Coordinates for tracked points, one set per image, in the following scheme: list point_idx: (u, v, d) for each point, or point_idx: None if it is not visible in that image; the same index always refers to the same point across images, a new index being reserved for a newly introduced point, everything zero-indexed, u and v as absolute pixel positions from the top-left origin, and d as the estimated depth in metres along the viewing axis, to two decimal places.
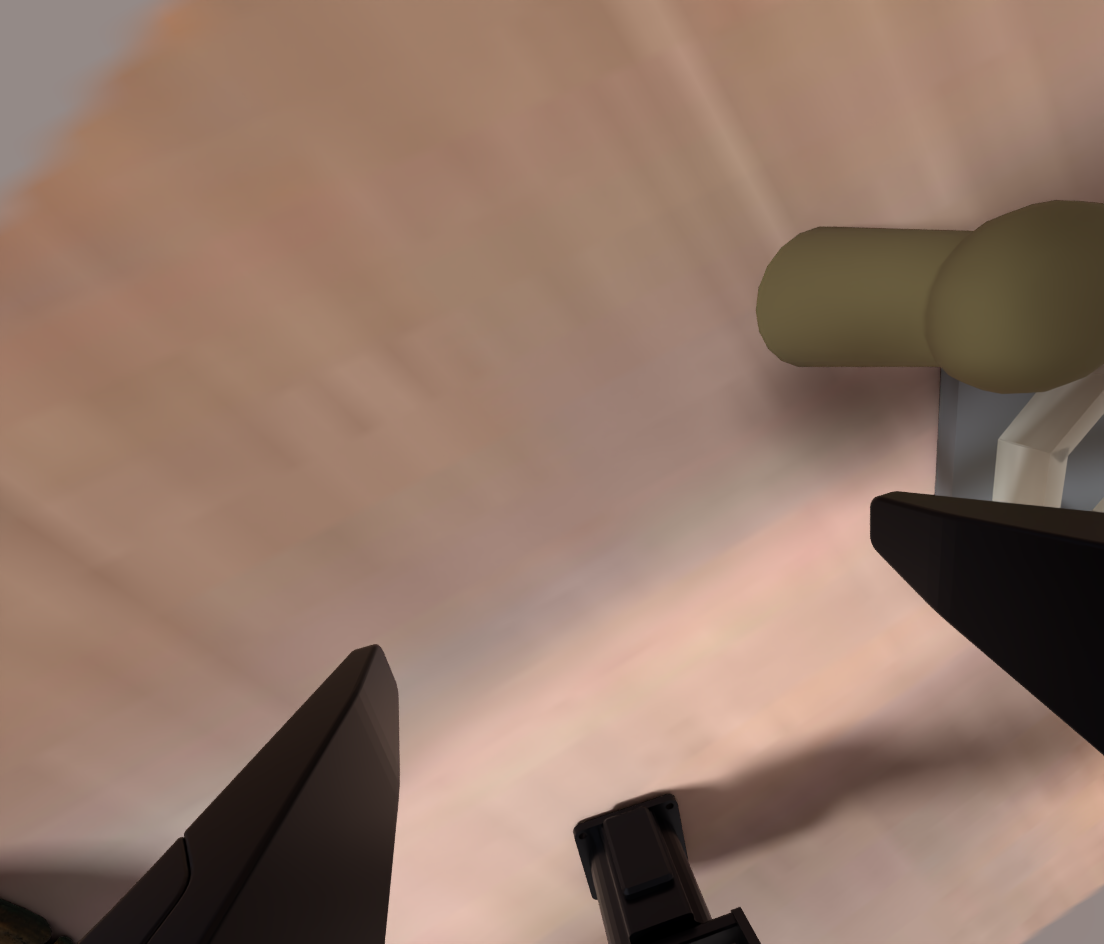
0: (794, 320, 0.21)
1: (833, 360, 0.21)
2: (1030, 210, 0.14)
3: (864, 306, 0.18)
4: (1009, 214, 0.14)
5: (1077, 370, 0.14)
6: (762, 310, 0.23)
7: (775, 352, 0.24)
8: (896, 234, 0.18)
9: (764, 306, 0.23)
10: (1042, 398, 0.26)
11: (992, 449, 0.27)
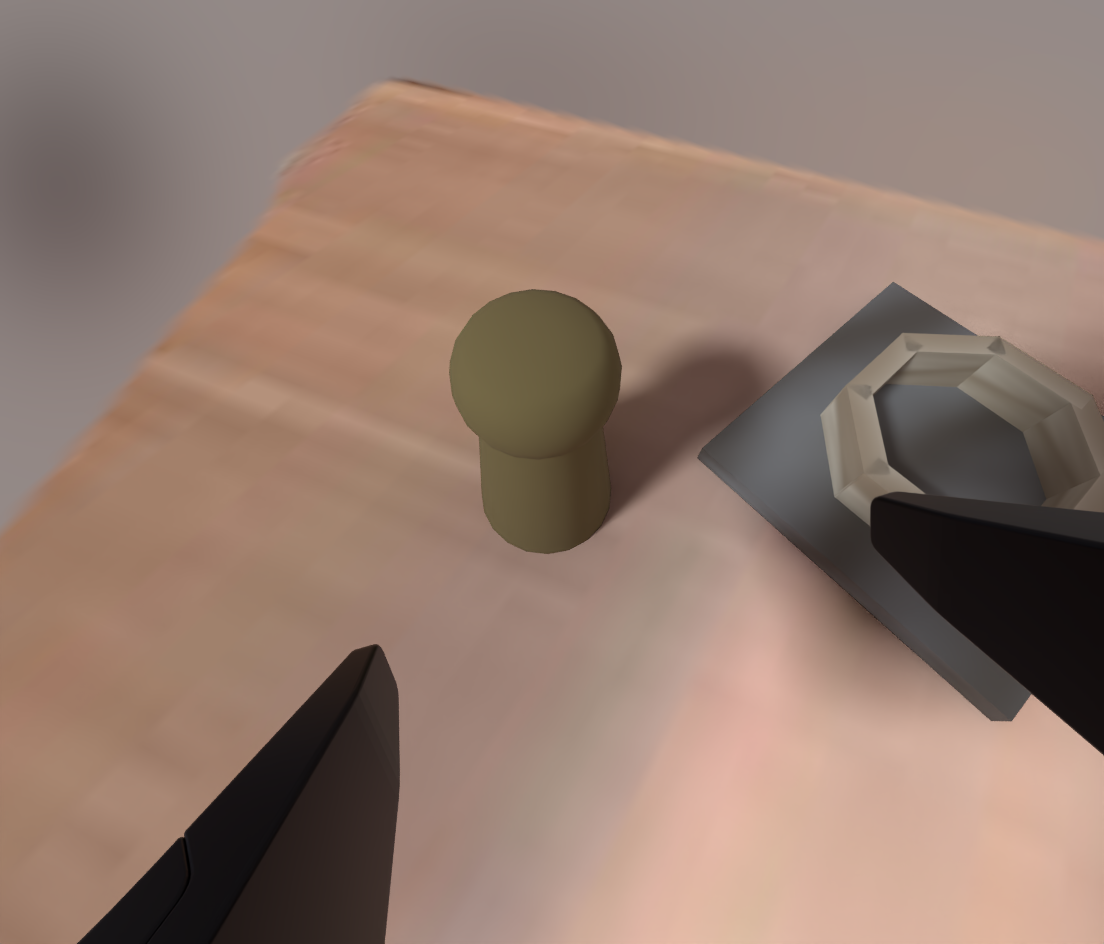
0: (497, 512, 0.21)
1: (546, 521, 0.20)
2: None
3: (487, 462, 0.19)
4: None
5: (572, 382, 0.14)
6: (493, 524, 0.23)
7: (532, 550, 0.23)
8: None
9: (491, 520, 0.23)
10: (830, 440, 0.23)
11: (839, 508, 0.23)
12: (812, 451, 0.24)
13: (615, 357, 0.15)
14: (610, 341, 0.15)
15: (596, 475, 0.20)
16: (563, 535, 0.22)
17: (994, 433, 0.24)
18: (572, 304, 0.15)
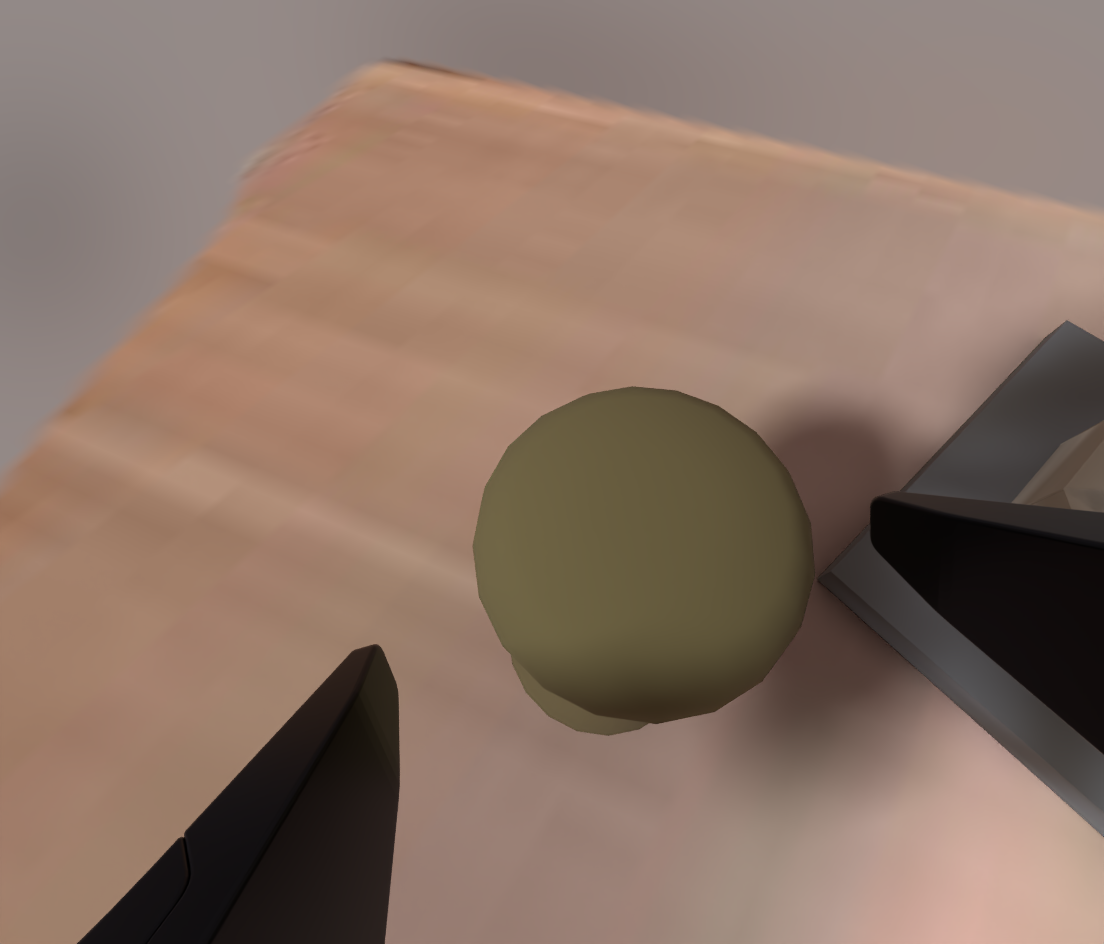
0: (538, 691, 0.14)
1: (618, 719, 0.13)
2: None
3: None
4: None
5: (746, 614, 0.06)
6: (526, 690, 0.16)
7: (586, 731, 0.15)
8: None
9: (523, 683, 0.16)
10: None
11: None
12: None
13: (809, 532, 0.07)
14: (800, 501, 0.07)
15: None
16: (637, 723, 0.14)
17: None
18: (718, 424, 0.08)
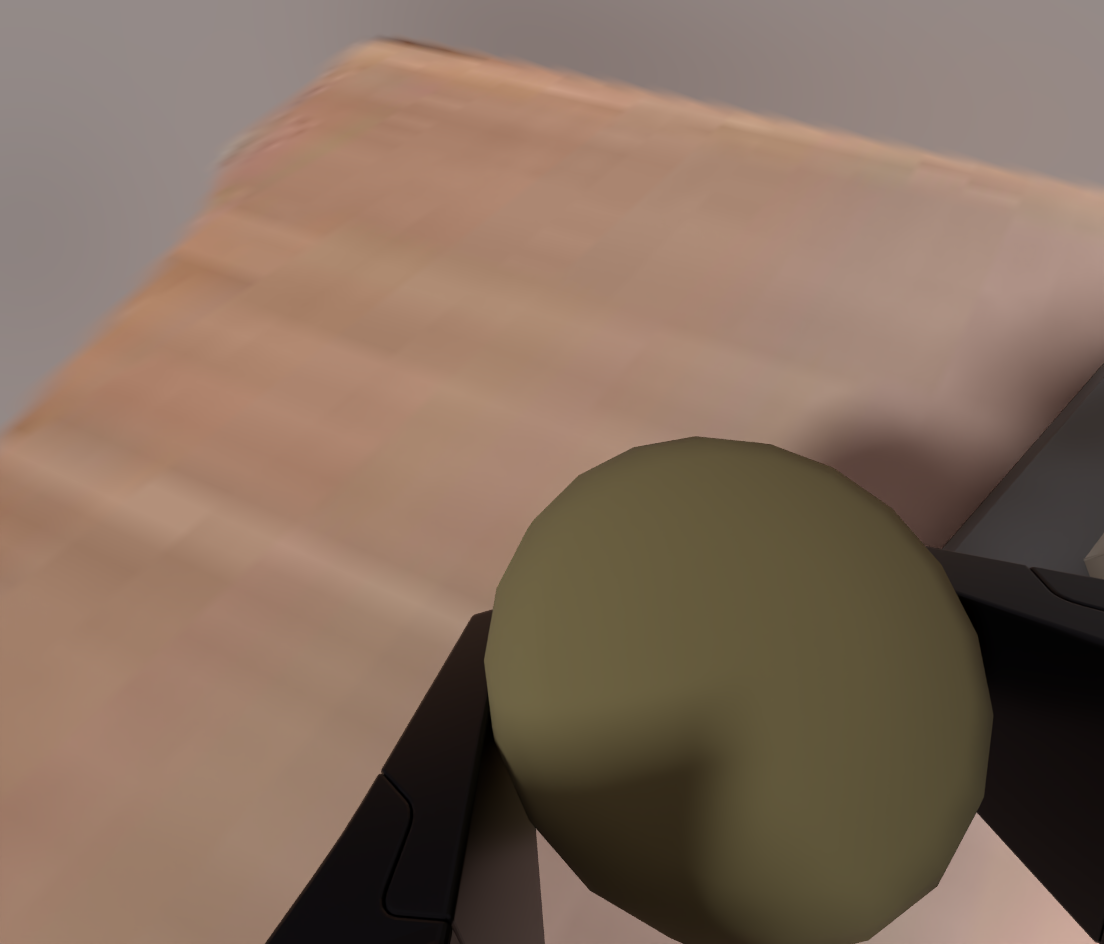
0: None
1: None
2: (527, 529, 0.06)
3: None
4: None
5: (918, 819, 0.04)
6: None
7: None
8: None
9: None
10: None
11: None
12: None
13: None
14: (966, 615, 0.05)
15: None
16: None
17: None
18: (843, 498, 0.05)
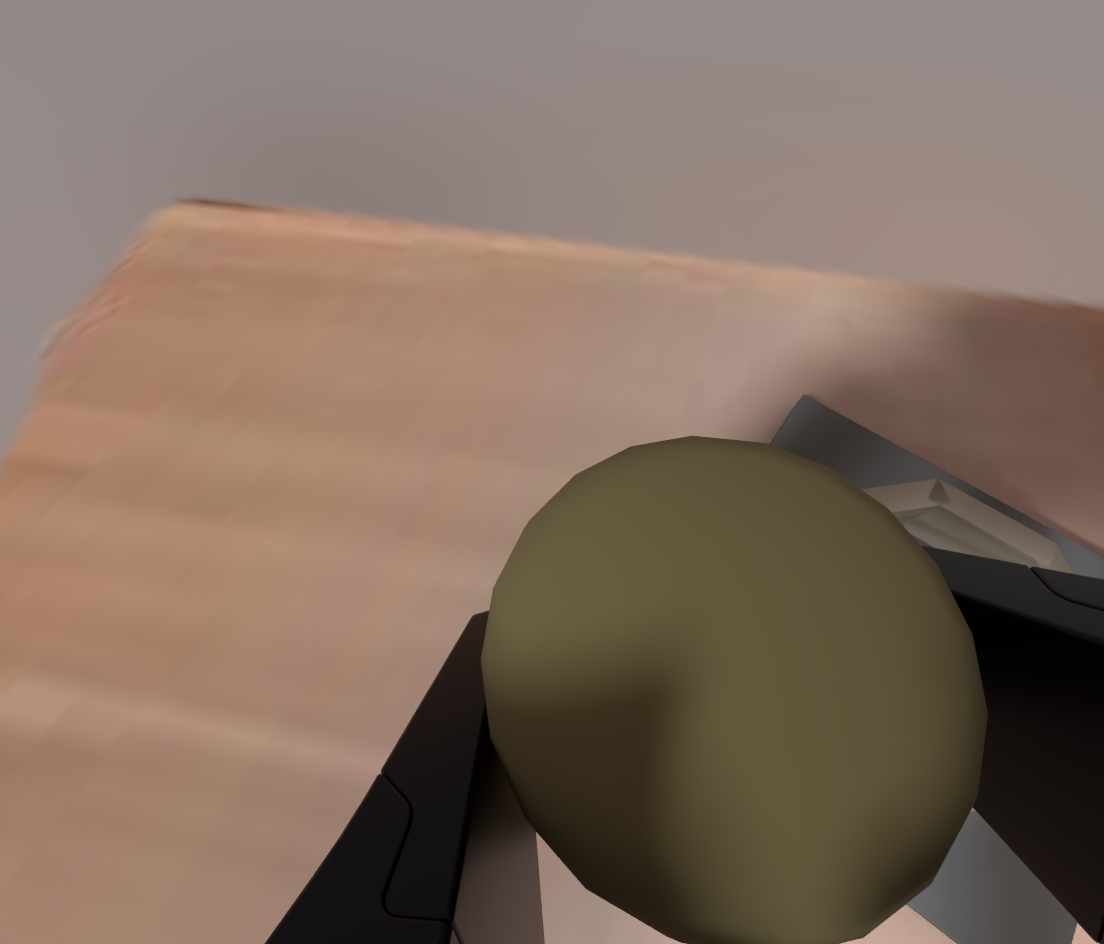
0: None
1: None
2: (524, 528, 0.06)
3: None
4: None
5: (914, 817, 0.04)
6: None
7: None
8: None
9: None
10: None
11: None
12: None
13: None
14: (960, 614, 0.05)
15: None
16: None
17: None
18: (838, 497, 0.05)
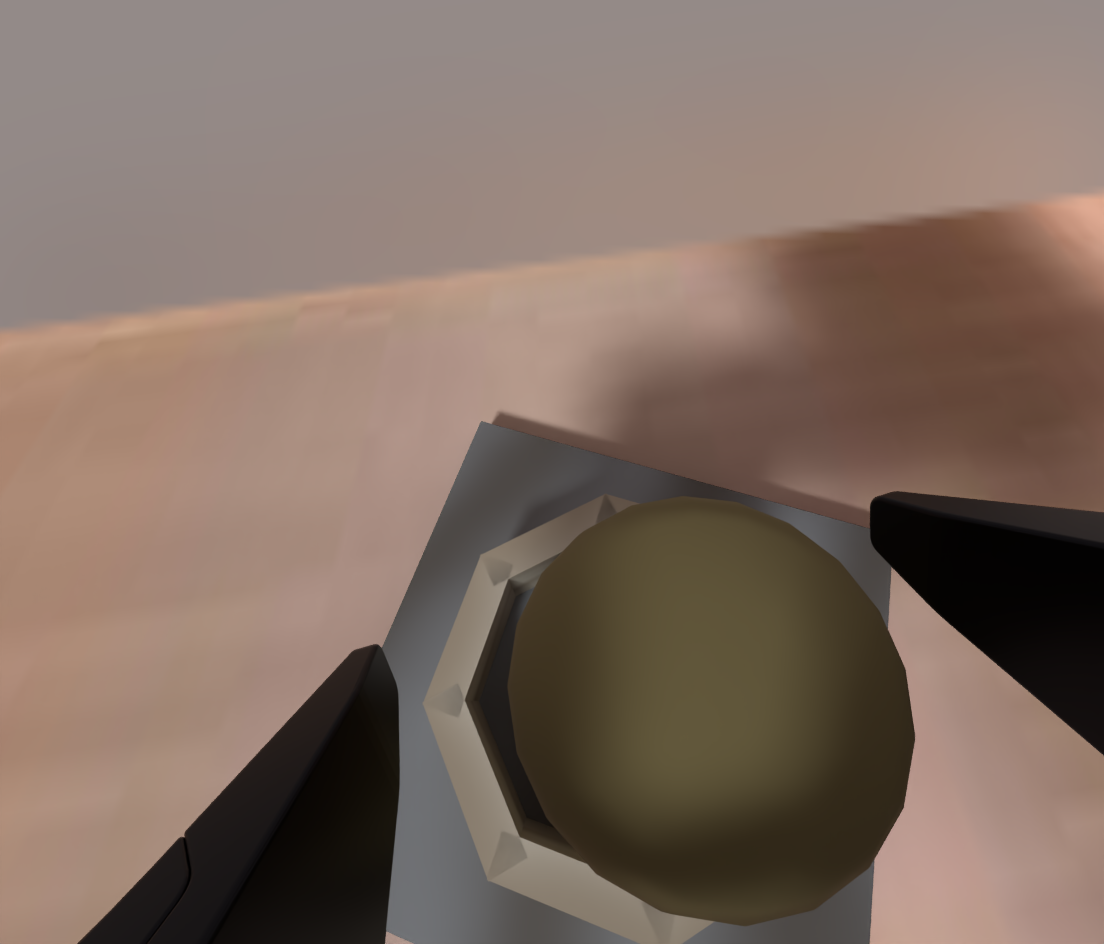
0: None
1: None
2: (542, 573, 0.08)
3: None
4: None
5: (850, 815, 0.05)
6: None
7: None
8: None
9: None
10: None
11: None
12: (448, 782, 0.15)
13: None
14: (897, 652, 0.06)
15: None
16: None
17: None
18: (800, 557, 0.06)
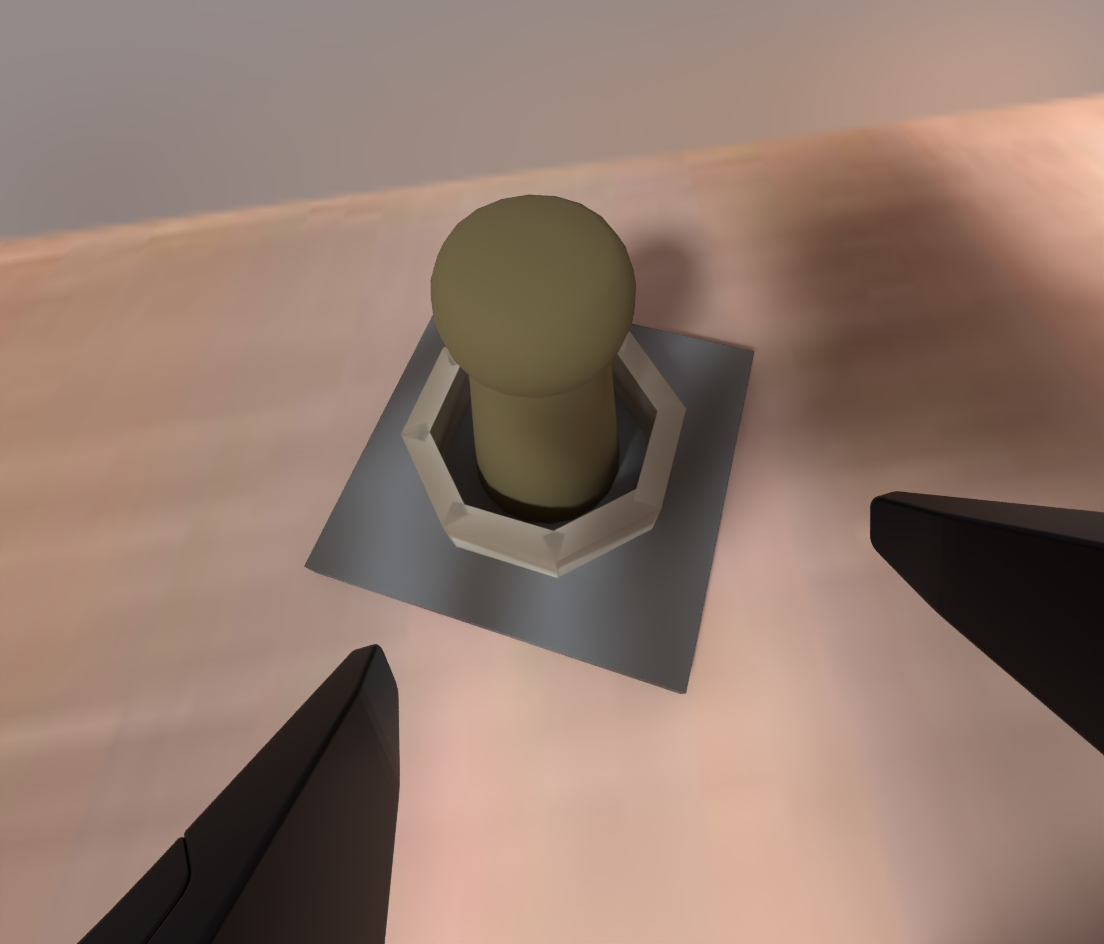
0: (493, 475, 0.19)
1: (548, 483, 0.18)
2: None
3: (479, 412, 0.16)
4: None
5: (578, 295, 0.11)
6: (488, 492, 0.21)
7: (533, 519, 0.20)
8: None
9: (486, 487, 0.21)
10: None
11: (465, 557, 0.20)
12: (421, 507, 0.21)
13: (629, 270, 0.12)
14: (623, 250, 0.12)
15: (605, 428, 0.17)
16: (567, 501, 0.19)
17: None
18: (576, 208, 0.13)
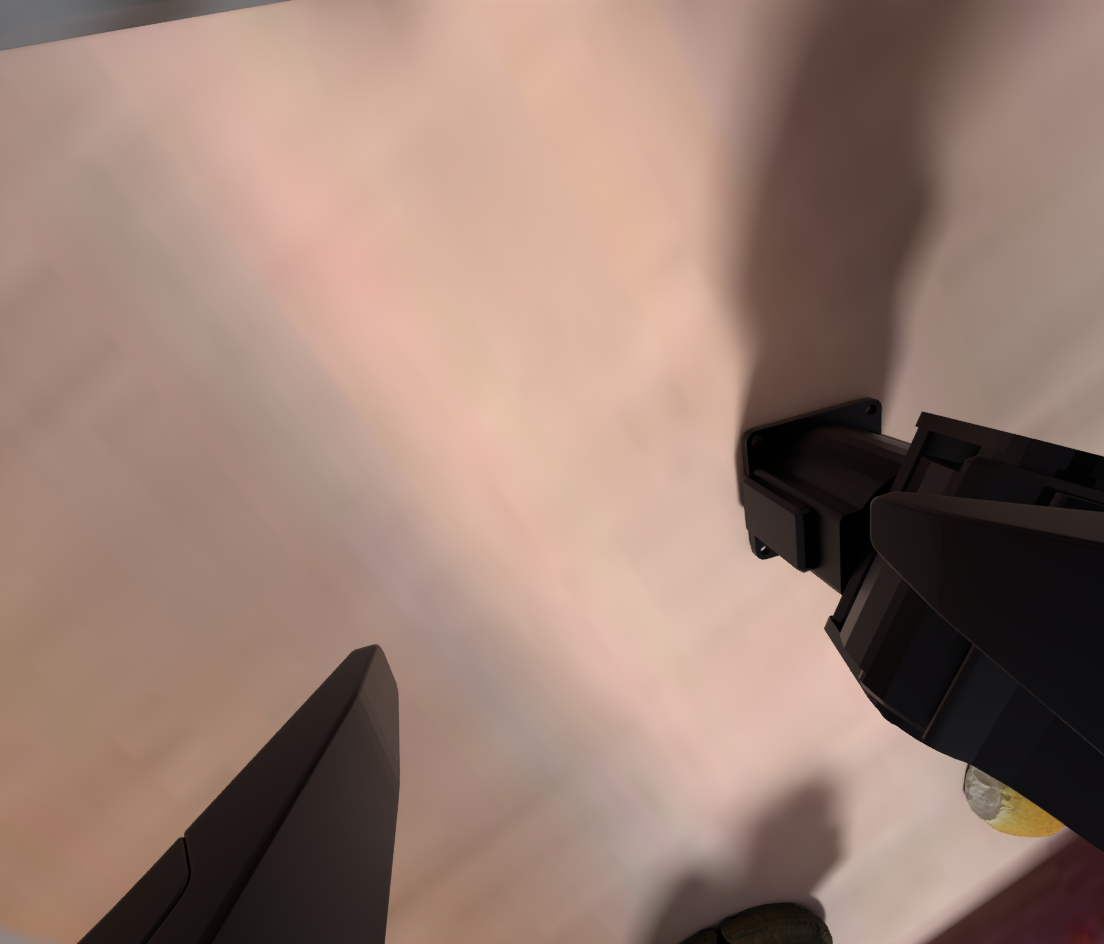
0: None
1: None
2: None
3: None
4: None
5: None
6: None
7: None
8: None
9: None
10: None
11: None
12: None
13: None
14: None
15: None
16: None
17: None
18: None
